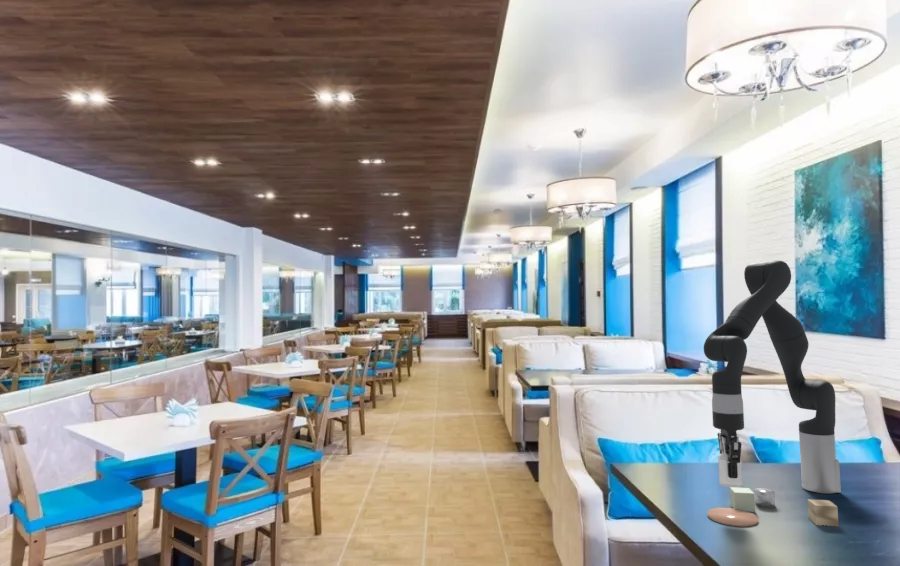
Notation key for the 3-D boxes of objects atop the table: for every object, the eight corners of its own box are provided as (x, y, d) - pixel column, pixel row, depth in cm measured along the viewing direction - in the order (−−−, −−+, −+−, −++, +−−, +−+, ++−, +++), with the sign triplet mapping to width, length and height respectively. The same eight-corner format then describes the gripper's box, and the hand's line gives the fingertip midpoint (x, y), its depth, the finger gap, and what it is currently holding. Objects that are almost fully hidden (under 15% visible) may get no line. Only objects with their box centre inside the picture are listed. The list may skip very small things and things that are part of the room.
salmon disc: (749, 511, 152) (749, 508, 153) (764, 528, 141) (764, 524, 141) (702, 509, 155) (702, 506, 155) (713, 525, 143) (713, 521, 143)
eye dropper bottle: (737, 489, 145) (735, 442, 146) (716, 484, 149) (714, 439, 150) (745, 486, 148) (743, 440, 148) (724, 481, 152) (722, 437, 153)
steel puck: (771, 502, 160) (770, 488, 160) (777, 508, 155) (777, 493, 155) (752, 501, 161) (751, 487, 161) (758, 507, 156) (757, 492, 156)
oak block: (829, 519, 146) (828, 500, 146) (838, 526, 141) (837, 506, 142) (808, 518, 147) (807, 499, 148) (816, 525, 142) (815, 505, 143)
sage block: (749, 506, 157) (748, 488, 158) (755, 512, 153) (754, 493, 153) (730, 505, 159) (729, 487, 159) (735, 511, 154) (734, 492, 154)
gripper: (751, 415, 142) (754, 484, 141) (735, 406, 156) (737, 469, 155) (719, 414, 144) (722, 482, 142) (706, 405, 157) (708, 468, 156)
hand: (730, 475), depth 149 cm, fingers closed on eye dropper bottle, 3 cm apart
